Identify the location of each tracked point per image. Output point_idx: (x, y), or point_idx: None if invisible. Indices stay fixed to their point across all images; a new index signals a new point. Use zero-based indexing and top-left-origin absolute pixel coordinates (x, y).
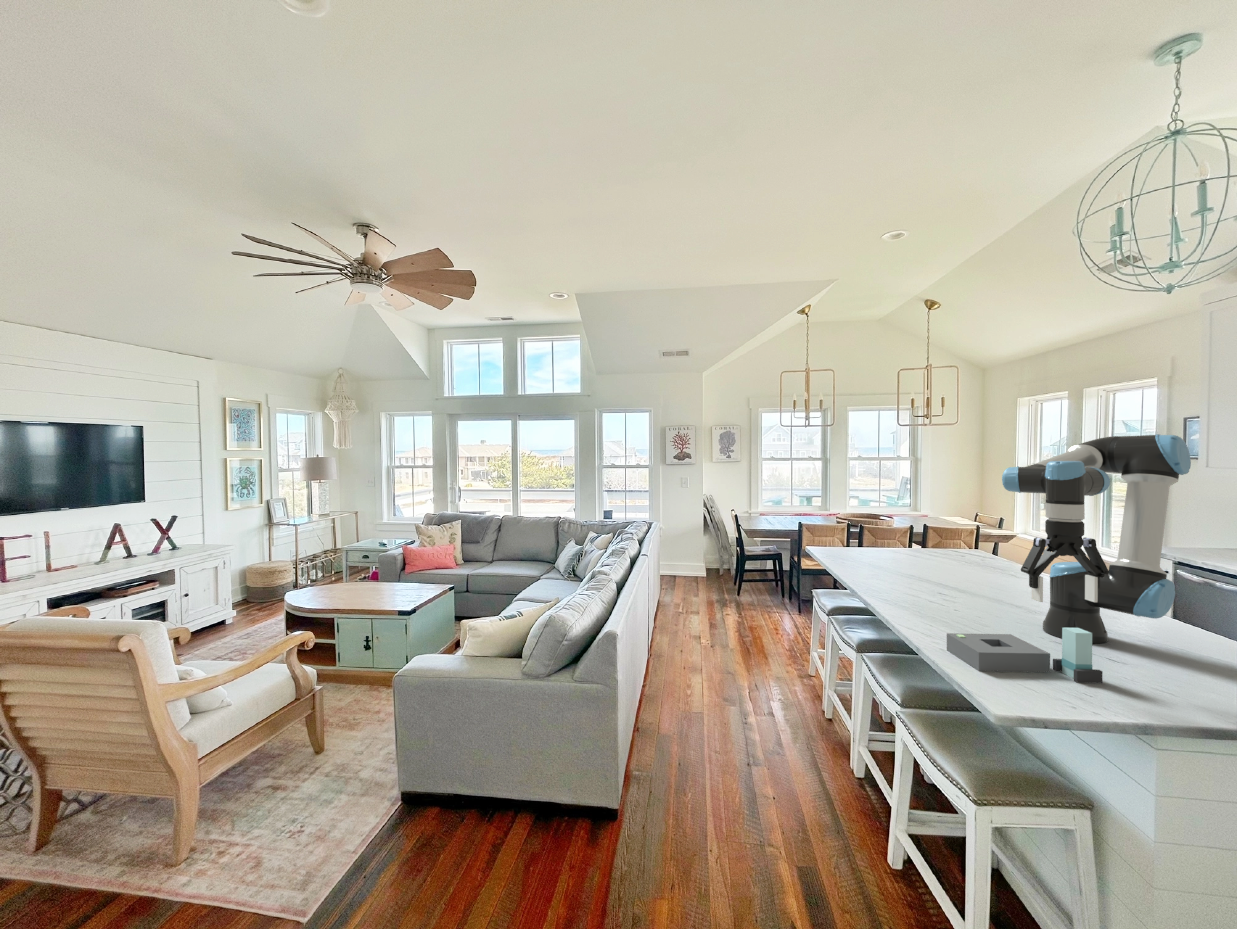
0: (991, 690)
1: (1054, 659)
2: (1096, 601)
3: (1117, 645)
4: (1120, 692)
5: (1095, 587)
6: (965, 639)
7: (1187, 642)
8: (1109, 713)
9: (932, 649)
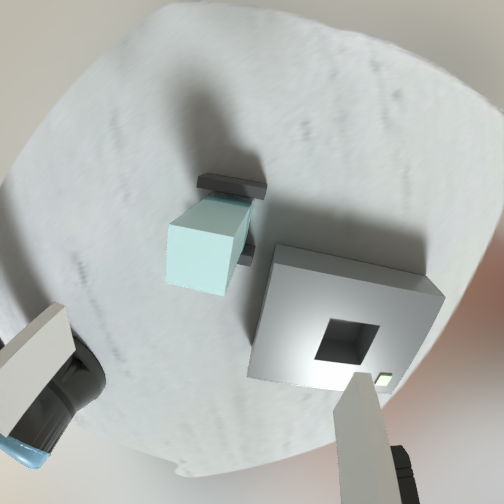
0: (476, 199)
1: (251, 261)
2: (55, 305)
3: None
4: (210, 130)
5: (10, 352)
6: (392, 365)
7: None
8: (347, 57)
9: None
